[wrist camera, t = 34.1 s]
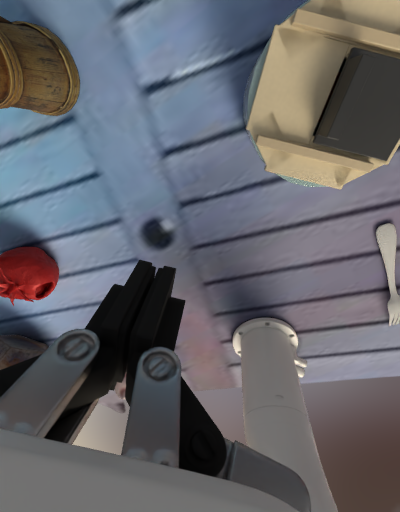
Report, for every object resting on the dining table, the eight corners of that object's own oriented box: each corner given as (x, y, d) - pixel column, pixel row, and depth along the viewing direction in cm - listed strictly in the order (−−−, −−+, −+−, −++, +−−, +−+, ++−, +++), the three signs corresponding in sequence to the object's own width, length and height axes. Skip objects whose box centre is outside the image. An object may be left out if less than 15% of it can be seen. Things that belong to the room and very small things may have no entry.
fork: (386, 216, 38) (396, 221, 35) (403, 323, 45) (412, 333, 42) (365, 222, 39) (374, 228, 36) (385, 326, 46) (393, 337, 43)
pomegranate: (1, 248, 46) (-47, 279, 38) (43, 233, 43) (0, 262, 35) (36, 290, 50) (0, 325, 42) (76, 278, 48) (45, 313, 40)
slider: (435, 70, 19) (466, 65, 16) (383, 160, 22) (402, 167, 20) (351, 48, 19) (369, 39, 16) (312, 142, 22) (322, 147, 20)
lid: (469, 17, 18) (487, 11, 17) (366, 194, 25) (373, 199, 24) (289, -30, 18) (294, -41, 16) (236, 162, 25) (236, 165, 23)
